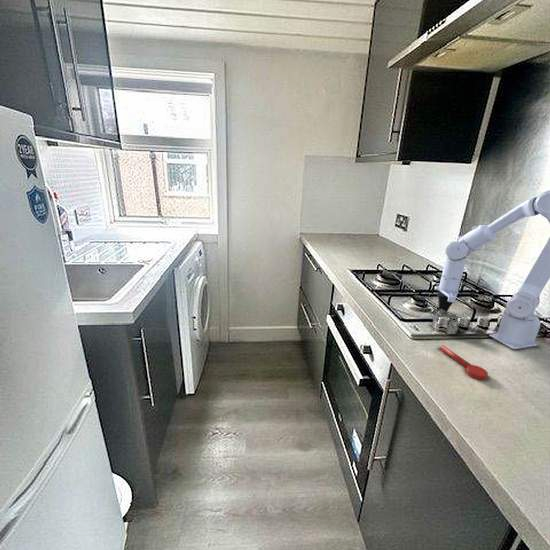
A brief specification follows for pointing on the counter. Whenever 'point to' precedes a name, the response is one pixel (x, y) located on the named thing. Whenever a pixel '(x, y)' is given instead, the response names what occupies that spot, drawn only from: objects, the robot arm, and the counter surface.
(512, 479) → the counter surface
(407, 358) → the counter surface
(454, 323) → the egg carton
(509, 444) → the counter surface
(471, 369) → the spoon
